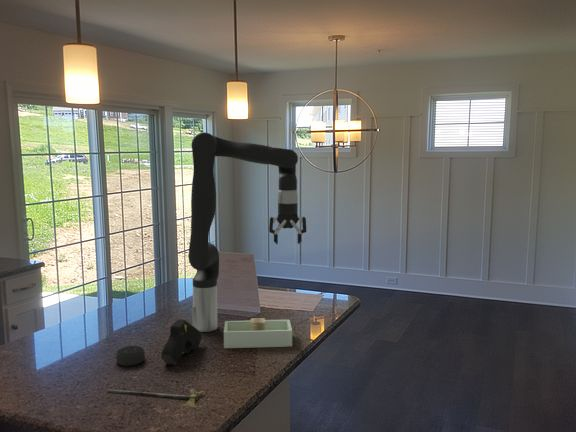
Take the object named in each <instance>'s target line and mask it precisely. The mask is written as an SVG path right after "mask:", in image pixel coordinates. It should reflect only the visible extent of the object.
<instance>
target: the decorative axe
mask: <svg viewBox="0 0 576 432" xmlns="http://www.w3.org/2000/svg"><path fill="white" fill-rule="evenodd" d="M189 391H190V392H189V393H188V395H185V394H184V395H183V394H173V393H172V394H171V393H160V392H146V391H137V390H136V391H135V390H121V389H110V388H108V389H106V393H112V394H120V395H121V394H124V395H135V396H144V397H154V398H167V399H178V400H187V401H186V402H185V403H183V404H182V406H184V407H193V408H203V405H200V406H199V405H198V406H197V405H196V404H195V402H196V401H198V400H199V396H200V395H201V394H203V395H205V391H204V390H201V391H199V392H198V391H195V388H191V389H189Z"/></svg>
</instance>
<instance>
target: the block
mask: <svg viewBox="0 0 576 432" xmlns="http://www.w3.org/2000/svg"><path fill="white" fill-rule="evenodd" d="M250 320H251V331H258V330H265V320H266V318H265V317H258V318H256V317H254V318H253V317H252V318H250Z"/></svg>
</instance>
